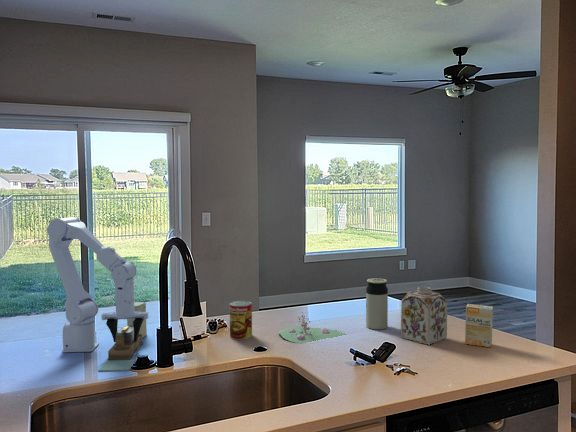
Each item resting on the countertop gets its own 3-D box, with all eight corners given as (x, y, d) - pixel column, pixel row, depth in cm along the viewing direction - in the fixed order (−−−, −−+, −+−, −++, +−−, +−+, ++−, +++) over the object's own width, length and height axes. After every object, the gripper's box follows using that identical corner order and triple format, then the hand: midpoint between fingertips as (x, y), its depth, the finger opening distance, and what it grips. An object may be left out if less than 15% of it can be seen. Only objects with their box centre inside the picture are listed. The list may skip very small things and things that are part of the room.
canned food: (225, 338, 174) (225, 304, 173) (236, 332, 181) (236, 299, 181) (245, 340, 171) (245, 306, 171) (255, 334, 179) (255, 301, 178)
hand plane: (130, 360, 153) (129, 337, 152) (107, 360, 152) (106, 338, 152) (143, 342, 170) (142, 322, 170) (122, 342, 170) (122, 322, 169)
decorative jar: (428, 346, 164) (429, 292, 163) (399, 338, 173) (400, 287, 172) (448, 338, 172) (448, 287, 171) (419, 331, 181) (419, 282, 180)
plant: (338, 326, 190) (338, 303, 190) (355, 342, 170) (355, 316, 170) (274, 329, 186) (274, 306, 185) (283, 347, 166) (283, 320, 165)
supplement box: (464, 344, 165) (465, 306, 164) (466, 340, 170) (467, 303, 169) (491, 348, 161) (491, 308, 161) (492, 344, 166) (493, 305, 165)
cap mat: (98, 371, 143) (98, 370, 143) (106, 361, 151) (106, 360, 151) (129, 370, 144) (129, 369, 144) (136, 360, 152) (136, 359, 152)
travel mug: (390, 326, 188) (390, 279, 187) (382, 331, 181) (383, 282, 180) (371, 323, 192) (371, 277, 191) (362, 328, 185) (362, 280, 184)
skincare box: (138, 340, 172) (137, 306, 172) (126, 339, 173) (126, 305, 173) (147, 335, 179) (146, 301, 178) (135, 334, 180) (135, 301, 179)
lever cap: (116, 345, 158) (115, 330, 157) (121, 339, 164) (121, 325, 163) (130, 344, 158) (130, 330, 158) (135, 339, 164) (134, 324, 164)
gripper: (98, 303, 156) (99, 345, 156) (144, 302, 157) (145, 344, 157) (104, 298, 163) (106, 338, 163) (149, 297, 164) (150, 337, 164)
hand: (125, 340), depth 161 cm, fingers open, 6 cm apart
